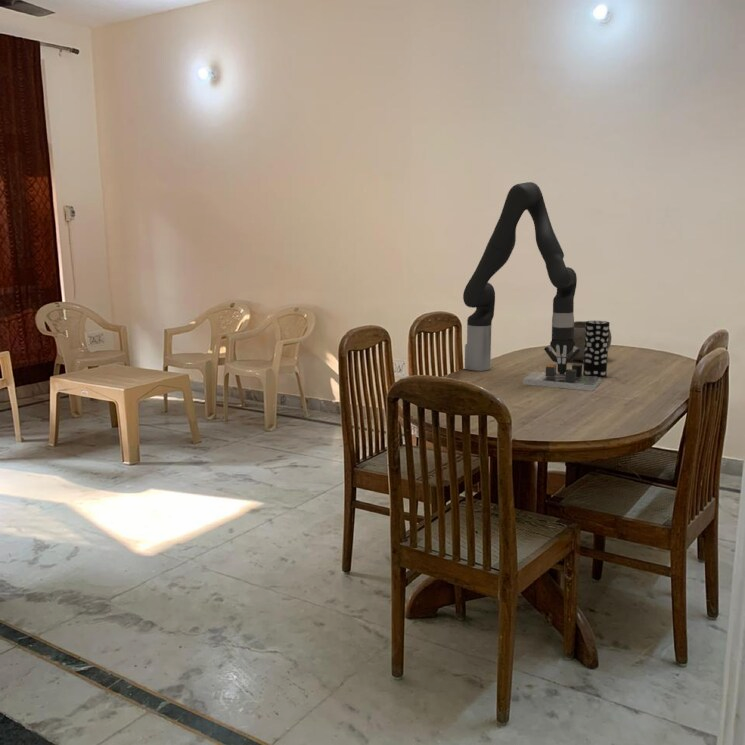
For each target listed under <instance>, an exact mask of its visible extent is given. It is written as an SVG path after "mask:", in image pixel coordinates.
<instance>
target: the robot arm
mask: <svg viewBox="0 0 745 745" xmlns="http://www.w3.org/2000/svg"><path fill="white" fill-rule="evenodd" d="M525 211H527V212H528V213H529V215H530V217H531V220H532V221H533V225H534V233H535V242H536V246H537V249H538V251H539V253H540V255H541V257H542V258H543V261H544V263H545V264H544V265H545V268H546V271H547V275H548V278H549V281H550V282H551V285H553V287H555V288H556V294H555V296H554V297H553V298H552V316H551V317H552V318H551V340H550V343H549V345H548V346H546V347H544V348H543V350H544V352H545V353H546V354H547V355H548V357H549V358H550V359H551V362H553V363H555V364H556V365H557V373H559V374H566V370H567V364H569V363H570V364H571V362H572V361H574V360H573V359H574V358H575V357H576V355H577V354H578V353H579V352H580V351H581V348H578V347H577V346H575V342H574V322H575V314H574V308H575V307H574V303H575V302H574V298H575V294H576V289H577V284H578V283H577V282H578V281H577V280H578V278H577V273H576V271H575V270H574V269H573V268H572V267H569V266H567V265H566V264H565V261H564V257H565V254H564V251H563V249H562V246H561V244H560V242H559V240H558V237H557V236H556V233H555V230H554V229H553V226H552V223H551V220H550V216H549V213H548V210H547V207H546V202H545V199H544V196H543V192H542V190H541V188H540V187H539V185H538V184H537V183H535V182H533V181H531V182H522V183H521V182H520V183H516V184H514V185H513V186H512V187H511V188H509V191H508V193H507V194H506V197H505V201H504V204H503V207H502V210H501V213H500V216H499V218H498V221H497V223H496V224H495V227H494V230H493V232H492V234H491V236H490V238H489V240H488V242H487V245H486V246H485V249H484V252H483V254H482V256H481V258H480V260H479V262H478V264H477V266H476V269H475V270H474V272H473V274H472V276H471V277H470V278H469V280H468V282H467V284H466V285H465V288H464V290H463V293H462V294H463V296H462V297H463V298H462V299H463V303H464V305H465V306H467V308H472V309H473V308H475V311H474V312H473V313H472V314H471V315H469V316H468V317H467V321H466V322H467V323H466V324H467V325H466V334H467V335H466V344H465V345H464V369H465V370H470V371H476V372H477V371H478V372H481V371H482V372H483V371H485V372H486V371H489V370H491V358H492V357H491V356H492V355H491V354H492V353H491V352H492V327H493V326H492V321H493V318H494V315H495V305H496V304H495V303H496V291H495V288H494V285H492V283H490V282H489V281H490V280H491V279H492V278H493V276H494V275H496V273H497V272H499V271H500V270H501V269H502V268H503V267H504V265H506V264H507V262H508V261H509V259H510V256H511V255H512V253H513V250H514V249H515V245H516V241H517V240H516V239H517V233H516V232H517V226H518V224H519V221H520V219H521V218H522V216H523V214H524V213H525ZM573 348H574V349H573ZM572 349H573V352H574V353H573V354H572V355H571V357H570V358H568V353H569V352H570V351H571V350H572ZM553 350H554V352H555V353H554V352H553Z"/></svg>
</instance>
